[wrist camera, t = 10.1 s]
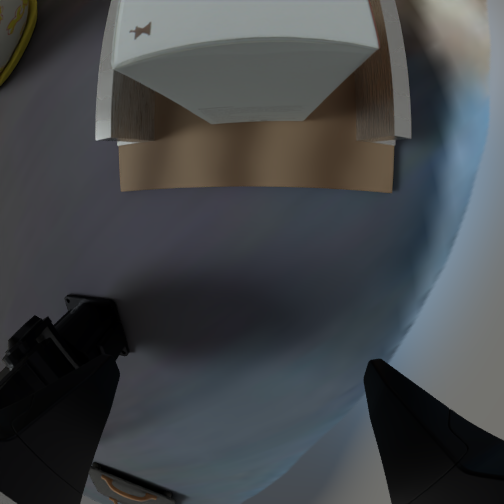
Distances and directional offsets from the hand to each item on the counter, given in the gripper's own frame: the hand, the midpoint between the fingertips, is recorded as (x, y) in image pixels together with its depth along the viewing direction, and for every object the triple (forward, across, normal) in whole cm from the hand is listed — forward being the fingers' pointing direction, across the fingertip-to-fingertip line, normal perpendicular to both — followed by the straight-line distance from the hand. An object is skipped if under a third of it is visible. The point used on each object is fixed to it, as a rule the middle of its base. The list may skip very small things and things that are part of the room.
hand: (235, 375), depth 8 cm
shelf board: (+13, -1, -13) cm, 18 cm away
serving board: (+14, +36, +70) cm, 80 cm away
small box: (+12, -1, -13) cm, 18 cm away
